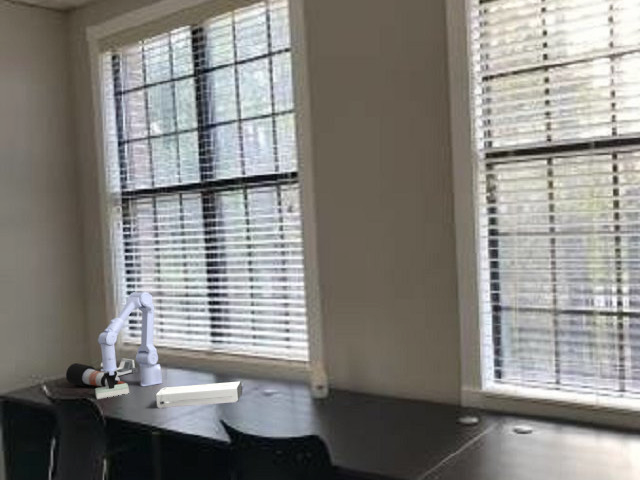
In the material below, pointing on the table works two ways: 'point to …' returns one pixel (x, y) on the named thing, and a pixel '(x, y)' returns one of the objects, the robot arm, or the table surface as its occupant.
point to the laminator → (198, 394)
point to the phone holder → (124, 367)
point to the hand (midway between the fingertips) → (111, 388)
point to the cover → (106, 389)
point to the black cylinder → (87, 376)
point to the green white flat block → (112, 393)
